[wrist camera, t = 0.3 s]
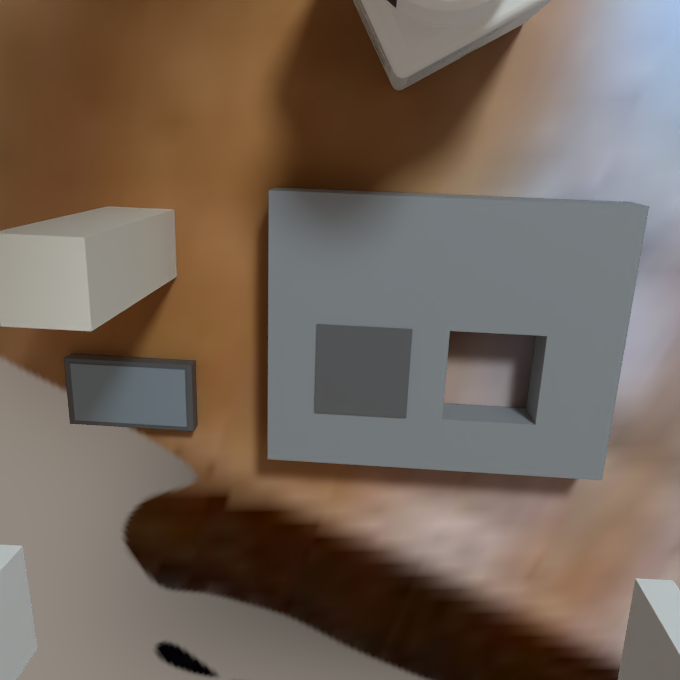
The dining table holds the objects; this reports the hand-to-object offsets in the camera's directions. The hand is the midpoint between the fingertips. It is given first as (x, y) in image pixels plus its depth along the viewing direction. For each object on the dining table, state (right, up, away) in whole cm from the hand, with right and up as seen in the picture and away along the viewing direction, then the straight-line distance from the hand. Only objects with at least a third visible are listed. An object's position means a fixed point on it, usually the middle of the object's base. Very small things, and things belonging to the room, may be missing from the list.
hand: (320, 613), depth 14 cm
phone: (-13, +3, +27) cm, 30 cm away
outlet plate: (+6, +6, +25) cm, 27 cm away
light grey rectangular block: (-11, +12, +25) cm, 30 cm away
